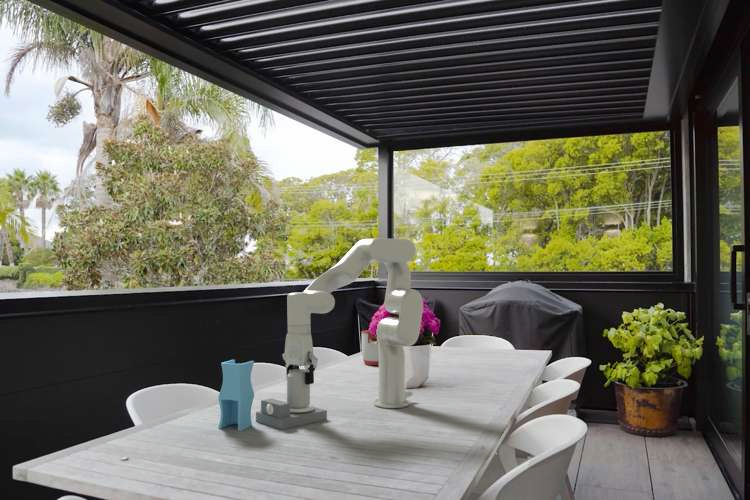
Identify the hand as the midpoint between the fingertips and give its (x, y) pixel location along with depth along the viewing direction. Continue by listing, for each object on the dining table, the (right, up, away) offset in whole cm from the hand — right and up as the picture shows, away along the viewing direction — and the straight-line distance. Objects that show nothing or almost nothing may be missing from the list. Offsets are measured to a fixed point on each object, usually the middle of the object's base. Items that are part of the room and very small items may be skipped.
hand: (300, 382), depth 199 cm
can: (-1, -8, -1) cm, 8 cm away
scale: (-2, -12, -3) cm, 12 cm away
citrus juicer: (+25, -16, +114) cm, 117 cm away
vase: (-19, -12, -10) cm, 24 cm away
